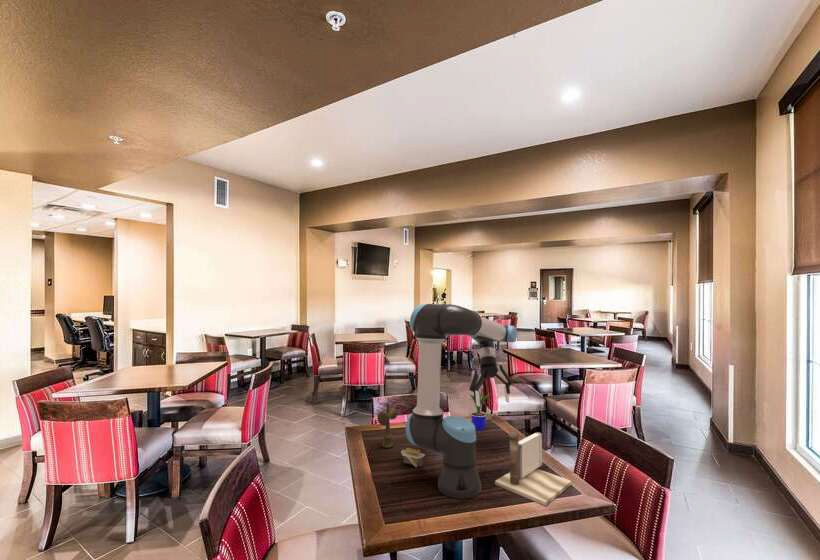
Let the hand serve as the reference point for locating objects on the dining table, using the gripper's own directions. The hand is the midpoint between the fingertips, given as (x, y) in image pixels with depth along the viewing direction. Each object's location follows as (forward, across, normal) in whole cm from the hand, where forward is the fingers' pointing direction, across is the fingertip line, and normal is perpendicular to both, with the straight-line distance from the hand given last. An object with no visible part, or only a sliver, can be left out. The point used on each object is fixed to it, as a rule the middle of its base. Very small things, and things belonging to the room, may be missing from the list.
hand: (492, 403), depth 162 cm
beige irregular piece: (+26, +29, +20) cm, 44 cm away
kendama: (+16, +47, +13) cm, 51 cm away
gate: (+28, -13, +4) cm, 31 cm away
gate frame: (+32, -15, +8) cm, 36 cm away
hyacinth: (+3, +19, -29) cm, 35 cm away
